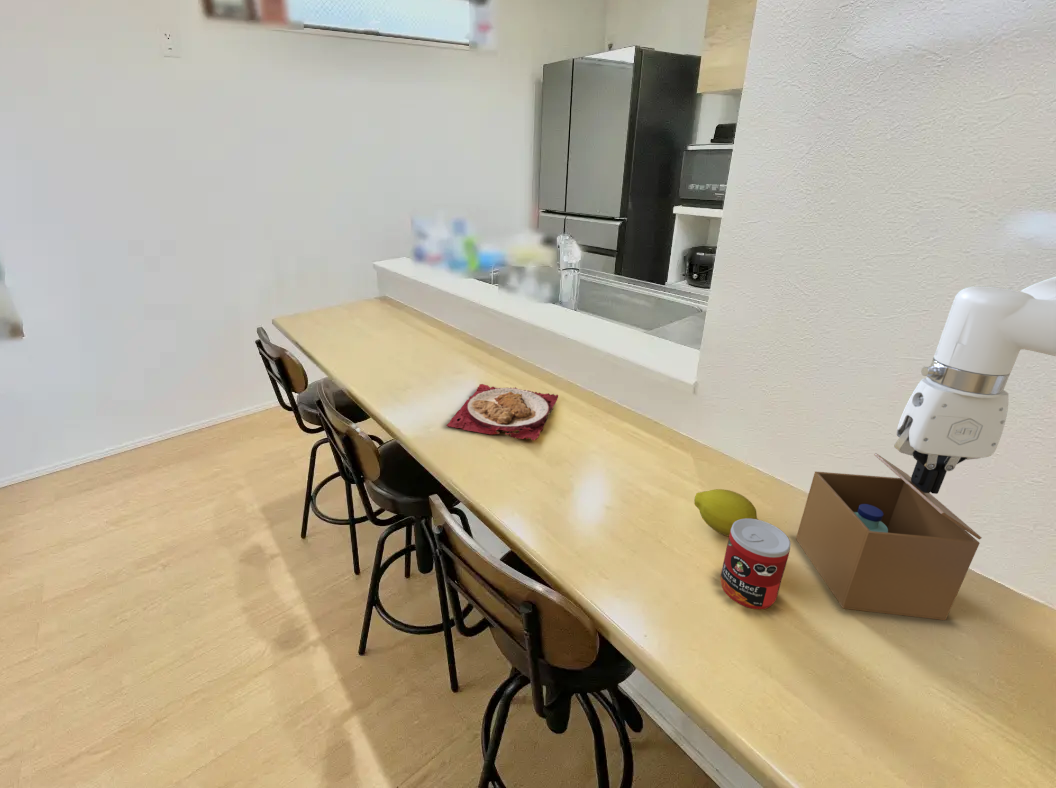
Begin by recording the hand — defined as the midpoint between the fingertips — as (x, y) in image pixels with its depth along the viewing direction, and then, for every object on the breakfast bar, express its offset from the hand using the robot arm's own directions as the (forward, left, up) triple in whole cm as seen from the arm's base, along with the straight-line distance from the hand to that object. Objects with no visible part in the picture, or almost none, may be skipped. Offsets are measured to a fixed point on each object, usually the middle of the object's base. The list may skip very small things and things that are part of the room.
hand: (923, 487), depth 74 cm
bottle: (+6, 0, -17) cm, 18 cm away
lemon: (+23, -8, -18) cm, 30 cm away
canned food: (+24, +6, -18) cm, 30 cm away
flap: (0, 0, -1) cm, 1 cm away
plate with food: (+66, -47, -18) cm, 83 cm away
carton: (+4, 0, -18) cm, 18 cm away
